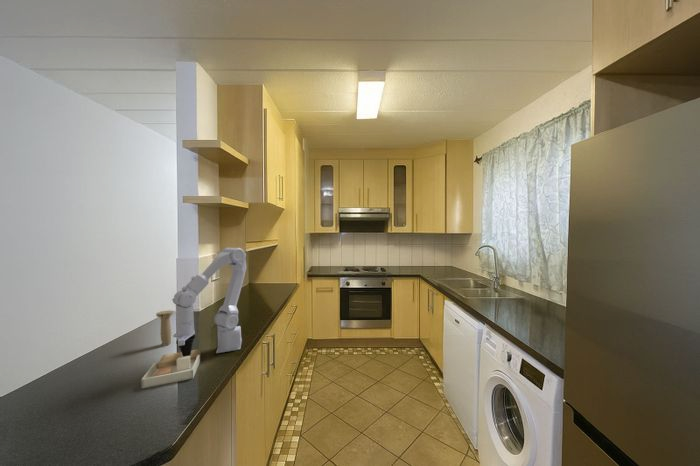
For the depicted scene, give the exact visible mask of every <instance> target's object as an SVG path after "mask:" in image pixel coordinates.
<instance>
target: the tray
mask: <svg viewBox="0 0 700 466" xmlns="http://www.w3.org/2000/svg"><path fill="white" fill-rule="evenodd" d="M200 363H201V355H198V356H197V358H196V360H195V362H193V363H191V367H190V369H185V370H179V371H177V366H172V373H171V374H165V375H160V376H156V373H157V371H158V368H157V362H153V364H152V365H150V367H149V369H148V370H147V371H146V373H144V375H143V376H142V378H141V379H140V386H141V388H140V389H141V390H143V389H148V388H153V387H158V386H162V385H167V384H168V385H169V384H173V383H178V382H183V381H187V380H192V379H194V378H195V376H196V373H197V371H198V369H199V366H200ZM160 369H161V368H160Z"/></svg>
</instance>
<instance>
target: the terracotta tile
mask: <svg viewBox="0 0 700 466" xmlns="http://www.w3.org/2000/svg"><path fill="white" fill-rule="evenodd" d="M157 369H158V368H157ZM171 373H172V366H170V367H165V368H161V369H158V371H157V373H156V376H160V375H165V374H171Z"/></svg>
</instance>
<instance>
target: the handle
mask: <svg viewBox="0 0 700 466" xmlns="http://www.w3.org/2000/svg"><path fill="white" fill-rule="evenodd" d="M155 314H156V318H157V317H158V318H159V319H160V341H161V345H162V346H164V347H165V346H168V345H170V344H171V342H172V328H171V319H170V317H171V316H172V315H174V310H171V309H169V310H162V311H161V310H160V311H158V312H156V313H155Z"/></svg>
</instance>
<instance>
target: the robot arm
mask: <svg viewBox="0 0 700 466" xmlns="http://www.w3.org/2000/svg"><path fill="white" fill-rule="evenodd" d="M246 258H247V254H246V252H245V251H244V250H243V248H241V247H230V246H229V247H228V246H227V247H225V248H223V249H222V251H220V252H219V253H217V256H216V257H215V258H214V259H213V260H212V261H211V263H210V264H209V265H208V266H207V267H206V269H205V270H204V271H203V272H202V273H200V274H196V275H195V276H192V277H191V278H190V281H189V282H188V283H187V284H186V285H185V286H182V287H181V290H179V291H177V292H175V294H174V296H173V298H172V299H171V300H172V302H173V304H174V305H175V322H176V323H175V324H176V333H174V334H173V337H172V338H176V339H177V340H176V345H177V346H178V348H179V349H180V352H182V355H183V357H185V356H190V354H191V350H193V348H192V347H193V343H194V341H195V338H196V335H195V334H196V330H195V318H194V317H195V316H194V304H195V302H196V300H197V296H198V295H199V294H200V293H201V292H202V291H203V290H205V288H206V287H207V286H208V285H209V280H210V278H211V277H212V276H213V275H215V274H216V273H217V271H219V270H220V269H221V268H222V267H223V266H226V265H229V266H230V267H231V269H232V273H231V276H230V280H229V283H228V287H227V290H226V294H225V298H224V300H223V301H224V302H223V304H222V305H221V306H220V307H219V308H218V311H217V313H216V314H215V316H214V319H213V321H214V323H215V325H217V348H216V352H215V353H216V354H220V353H225V352H226V353H227V352H232V351H238V350H241V347H242V343H243V338H242V327H241V325H239V313H240V312H239V309H238V307H237V305H238V302H239V299H240V295H241V291H242V286H243V283H244V279H245V275H246V271H247V269H248V268H247V261H246Z"/></svg>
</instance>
